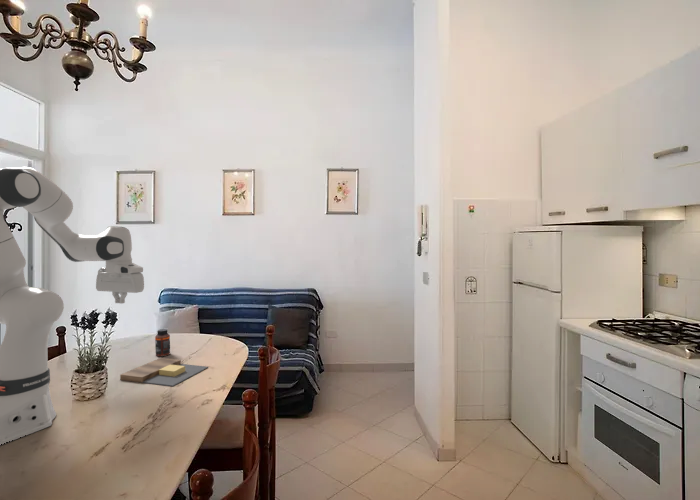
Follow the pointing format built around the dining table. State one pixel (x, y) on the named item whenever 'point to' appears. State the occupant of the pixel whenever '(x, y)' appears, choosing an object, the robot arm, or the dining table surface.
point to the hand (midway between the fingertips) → (120, 303)
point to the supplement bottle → (162, 343)
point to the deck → (148, 370)
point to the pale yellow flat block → (172, 370)
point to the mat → (173, 381)
